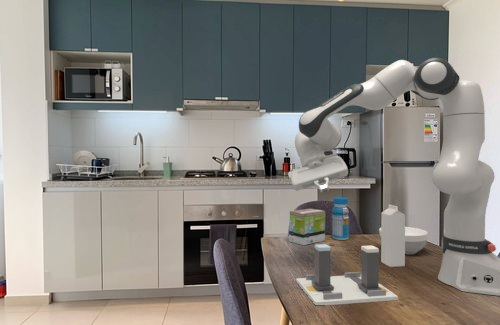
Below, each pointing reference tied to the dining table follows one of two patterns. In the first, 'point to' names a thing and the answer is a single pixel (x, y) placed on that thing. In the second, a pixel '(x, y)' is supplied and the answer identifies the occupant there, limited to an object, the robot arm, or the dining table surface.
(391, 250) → the milk
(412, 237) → the bowl
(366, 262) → the grey post on base
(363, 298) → the twin pillar base
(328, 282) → the grey capped post
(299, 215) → the tea box
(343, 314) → the dining table surface
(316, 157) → the robot arm
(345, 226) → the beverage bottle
